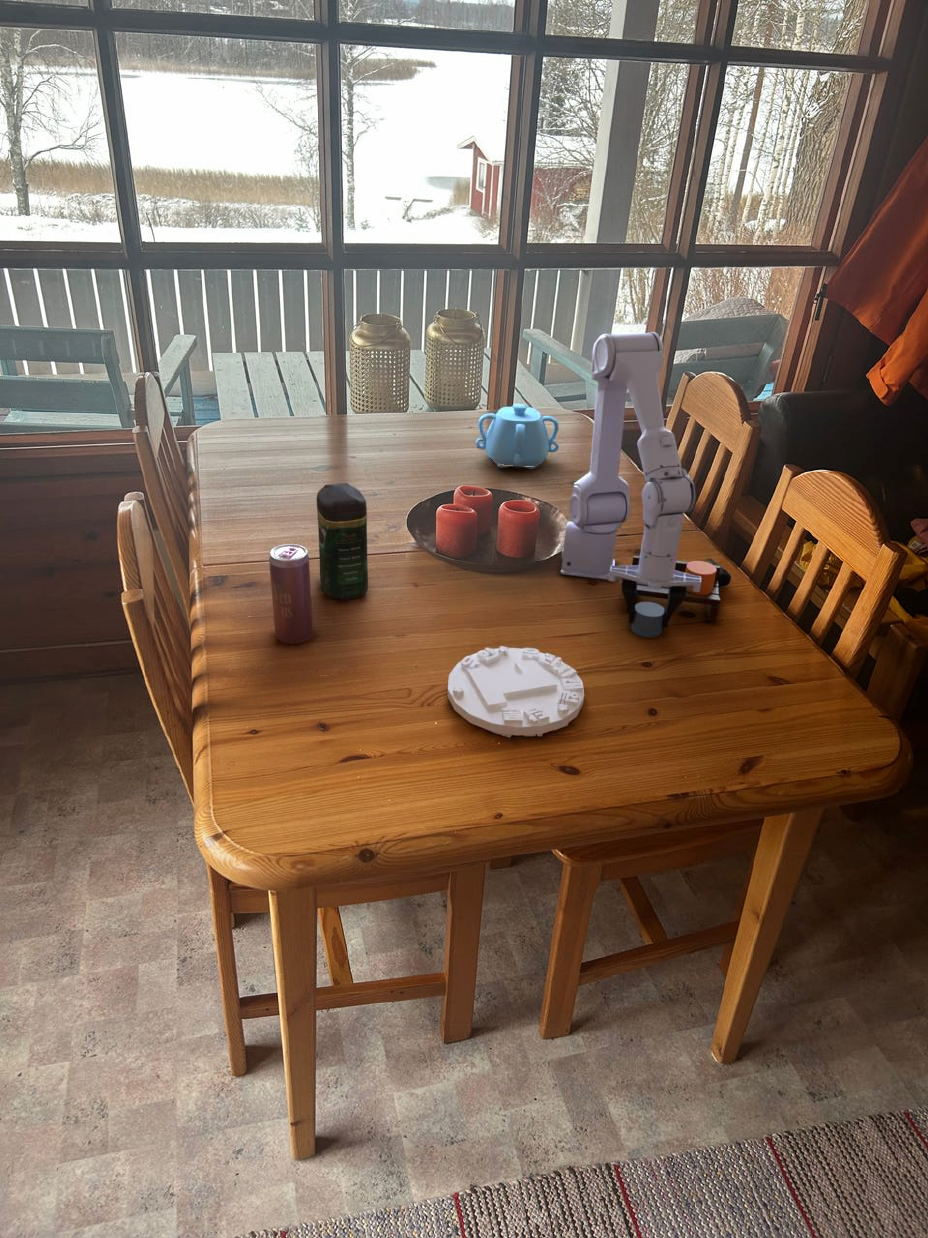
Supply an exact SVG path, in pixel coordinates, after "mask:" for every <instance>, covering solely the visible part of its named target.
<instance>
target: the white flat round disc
mask: <svg viewBox="0 0 928 1238" xmlns="http://www.w3.org/2000/svg"><path fill="white" fill-rule="evenodd" d="M447 680H448V683H447V699H448V700H449V702H450V705H451V706H452V708H453V710H454V711H455V712H456V713H457V714H458V715H460V716H461V717H462V718H464V719H465V720H466V721H468V723H470V724H472V725H475V726H477V727H480V728H482V729H484V730H487V731H489V732H492V733H493V734H496V735H501V736H503V737H506V738H508V739H509V738H511V737H512V736H523V737H536V736H537V737H543V734H546V733H549V732H552V731H556V730H559V729H561V728H564V727H567V726H569V723H570V722H571V721H573V720H574V719H576V718H577V717H578V715H579V713H580V711H581V709H582V707H583V705H584V701H585V690H584V683H583V680H582V679H581V678H580V676H579V675H578V671H577V670H576V669H574V668H573V667H571V666H570V665H569V664H566V663H565V661H564V662H563V661H562V657H559V656H557V657H556V655H553V654H551V653H548V652H546V653H543V652H542V651H540V650H539V649H537V648H533V647H523V648H518V647H507V646H504V645H500V646H499V647H498V648H493V647H491V648H490V647H488V646H487V647H484V649H481V650H479V651H477V652H476V653H472V654H471V655H466V656H465V657H463V659H461V660H460V661H458V662H457V663H456V665H455V666H454V667H453V668H452V670H451V671H450V673H449V674H448V679H447Z"/></svg>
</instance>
